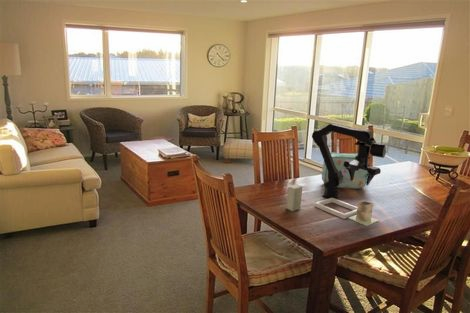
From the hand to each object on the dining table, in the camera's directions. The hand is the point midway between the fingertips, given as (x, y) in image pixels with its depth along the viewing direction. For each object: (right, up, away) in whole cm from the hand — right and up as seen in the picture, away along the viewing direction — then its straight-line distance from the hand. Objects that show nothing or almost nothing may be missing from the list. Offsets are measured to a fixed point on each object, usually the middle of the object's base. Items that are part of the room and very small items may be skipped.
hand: (359, 182), depth 189 cm
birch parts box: (-4, -16, -17) cm, 24 cm away
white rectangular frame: (-13, -13, -5) cm, 19 cm away
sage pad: (-4, -17, -17) cm, 24 cm away
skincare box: (-36, -13, -7) cm, 39 cm away
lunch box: (+1, -5, +31) cm, 32 cm away
